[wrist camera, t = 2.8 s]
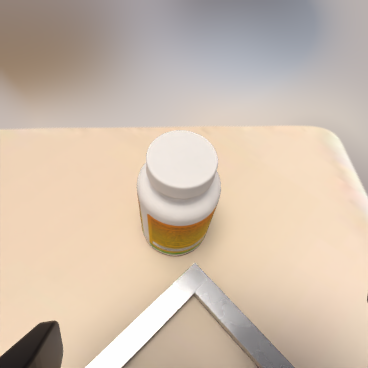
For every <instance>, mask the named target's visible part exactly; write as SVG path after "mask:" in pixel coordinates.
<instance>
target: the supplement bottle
mask: <svg viewBox="0 0 368 368" xmlns="http://www.w3.org/2000/svg"><path fill="white" fill-rule="evenodd" d="M217 167H218V157H217V153H216V151H215V148H214V147H213V146H212V144H211V143H210V142H209V141H208V140H207V139H206V138H204V137H202V136H201V135H199V134H197V133H194V132H190V131H184V130H177V131H171V132H167V133H164V134H162V135H160V136H159V137H157V138H156V139H155V140H154V141H153V142H152V143H151V145H150V146H149V148H148V150H147V154H146V163H145V164H144V165H143V167H142V169H141V170H140V173H139V176H138V180H137V195H138V201H139V209H140V216H141V224H142V230H143V233H144V236H145V238H146V240H147V242H148V243H149V244H150V245H151V246H152V247H153V248H154V249H155V250H157V251H159V252H161V253H163V254H166V255H171V256H179V255H184V254H187V253H189V252H191V251H193V250H194V249H195V248H197V247H198V246H199V245H200V243H201V242H202V240H203V239H204V237H205V235H206V232H207V229H208V227H209V224H210V221H211V219H212V216H213V214H214V211H215V209H216V206H217V204H218V201H219V197H220V192H221V182H220V177H219V175H218V172H217Z"/></svg>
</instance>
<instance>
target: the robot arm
mask: <svg viewBox="0 0 368 368" xmlns="http://www.w3.org/2000/svg"><path fill="white" fill-rule="evenodd" d="M367 301H368V296H367ZM62 358H63V344H62V339H61V333H60V328H59V324H58V322H57V321H48V322H42V323H39V324H38V325H37V326H36V327H34V328H33V329H32V330H31V331H30V332H29V333H27V334H26V335H25V336H24V337H23V338H22V339H20V340H19V341H18V342H17V343H16V344H15V345H13V346H12V347H11V348H10V349H9V350H8V351H6V352H5V353H4V354H3V355H2V356H1V357H0V368H61V363H62Z"/></svg>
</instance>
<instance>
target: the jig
mask: <svg viewBox="0 0 368 368" xmlns="http://www.w3.org/2000/svg"><path fill="white" fill-rule="evenodd" d="M193 295H194V296H195V297H196V298H197V299H198V300H199V302H200V303H201V304H202V305H203V306H204V307H205V308H206V309H207V310H208V312H209V313H210V314H211V315H212V316H213V317H214V318H215V319H216V321H217V322H218V323H219V324H220V325H221V326H222V327H223V328H224V329H225V331H226V332H227V333H228V334H229V335H230V336H231V337H232V338H233V339H234V341H235V342H236V343H237V344H238V345H239V346H240V347H241V348H242V349H243V351H244V352H245V353H246V354H247V355H248V356H249V357H250V358H251V359H252V361H253V362H254V363H255V364H256V365H257V366H258V367H259V368H294V367H293V366H292V364H291V363H290V362H289V361H288V360H287V359H286V358H285V357H284V356H283V355H282V354H281V353H280V352H279V351H278V350H277V349H276V348H275V347H274V345H273V344H272V343H271V342H270V341H269V340H268V339H267V338H266V337H265V336H264V335H263V334H262V333H261V332H260V331H259V330H258V329H257V328H256V326H255V325H254V324H253V323H252V322H251V321H250V320H249V319H248V318H247V317H246V316H245V315H244V314H243V313H242V312H241V311H240V310H239V309H238V307H237V306H236V305H235V304H234V303H233V302H232V301H231V300H230V299H229V298H228V297H227V296H226V295H225V294H224V293H223V292H222V291H221V290H220V288H219V287H218V286H217V285H216V284H215V283H214V282H213V281H212V280H211V279H210V278H209V277H208V276H207V275H206V274H205V273H204V272H203V271H202V269H201V268H200V267H199V266H198V265H197V264H196V263H194V264H193V265H192V266H191V267H190V268H189V269H188V270H187V271H186V272H184V273H183V274H182V275H181V276H180V277H179V278H178V279H177V280H176V281H175V282H174V283H173V284H172V285H171V286H170V287H169V288H168V289H167V290H166V291H165V292H164V293H163V294H162V295H161V296H159V297H158V298H157V299H156V300H155V301H154V302H153V303H152V304H151V305H150V306H149V307H148V308H147V309H146V310H145V311H144V312H143V313H142V314H141V315H140V316H139V317H138V318H137V319H135V320H134V321H133V322H132V323H131V324H130V325H129V326H128V327H127V328H126V329H125V330H124V331H123V332H122V333H121V334H120V335H119V336H118V337H117V338H116V339H115V340H114V341H113V342H111V343H110V344H109V345H108V346H107V347H106V348H105V349H104V350H103V351H102V352H101V353H100V354H99V355H98V356H97V357H96V358H95V359H94V360H93V361H92V362H91V363H90V364H89V365H88V366H86V367H85V368H122V367H123V366H124V365H125V364H126V363H127V362H128V361H129V360H130V359H131V358H132V357H133V356H134V355H135V354H136V353H137V352H138V351H139V350H140V349H141V348H142V347H143V346H144V345H145V344H146V343H147V342H148V341H149V340H150V339H151V337H152V336H153V335H154V334H155V333H156V332H157V331H158V330H159V329H160V328H161V327H162V326H163V325H164V324H165V323H166V322H167V321H168V320H169V319H170V318H171V317H172V316H173V315H174V314H175V313H176V312H177V311H178V310H179V309H180V308H181V307H182V306H183V305H184V304H185V303H186V302H187V301H188V300H189V299H190V298H191V297H192V296H193Z"/></svg>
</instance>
